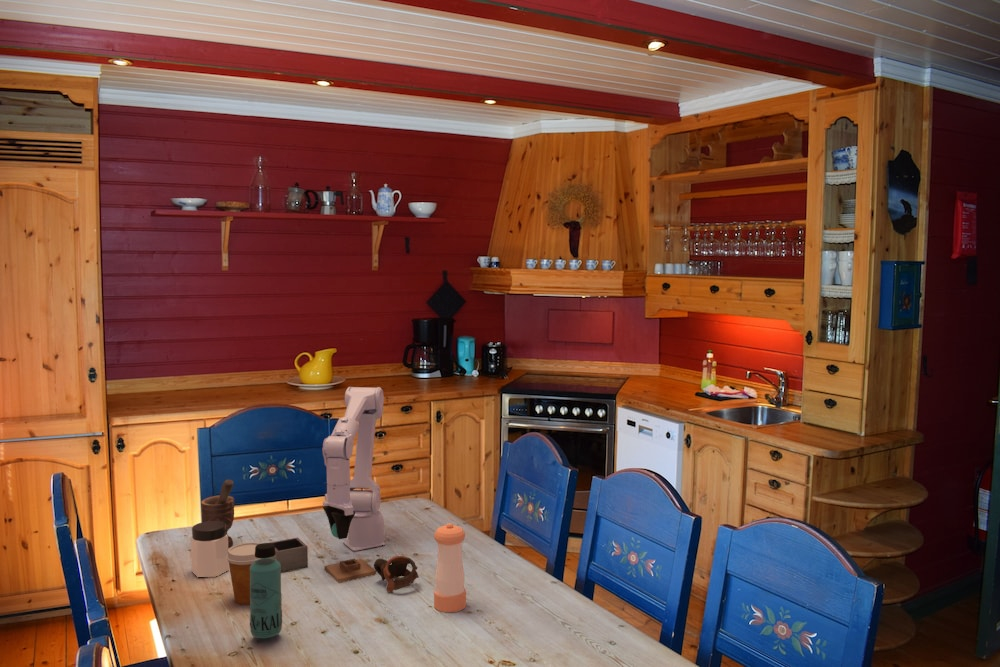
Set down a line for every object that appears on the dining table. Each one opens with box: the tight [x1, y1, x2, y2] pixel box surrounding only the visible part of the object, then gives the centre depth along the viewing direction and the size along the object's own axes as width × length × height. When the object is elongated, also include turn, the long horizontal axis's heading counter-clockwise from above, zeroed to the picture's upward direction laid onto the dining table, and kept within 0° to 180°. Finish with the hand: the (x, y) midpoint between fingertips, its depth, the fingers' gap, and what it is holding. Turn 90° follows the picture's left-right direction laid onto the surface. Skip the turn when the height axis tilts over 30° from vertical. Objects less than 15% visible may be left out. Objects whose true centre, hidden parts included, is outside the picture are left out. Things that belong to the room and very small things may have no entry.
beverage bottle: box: [248, 542, 283, 639], centre depth 162 cm, size 6×7×20 cm
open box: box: [269, 536, 309, 574], centre depth 203 cm, size 8×8×6 cm
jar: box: [190, 521, 230, 578], centre depth 199 cm, size 9×8×12 cm
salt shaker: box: [433, 522, 467, 613], centre depth 178 cm, size 7×7×19 cm
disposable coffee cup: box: [226, 542, 263, 606], centre depth 182 cm, size 10×10×12 cm
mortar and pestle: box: [200, 479, 235, 549], centre depth 216 cm, size 12×9×20 cm
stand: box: [323, 558, 377, 584], centre depth 199 cm, size 10×10×2 cm
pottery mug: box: [373, 555, 420, 594], centre depth 190 cm, size 12×10×8 cm
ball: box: [330, 524, 338, 539], centre depth 199 cm, size 4×4×4 cm
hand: (339, 535), depth 199 cm, fingers closed on ball, 4 cm apart
